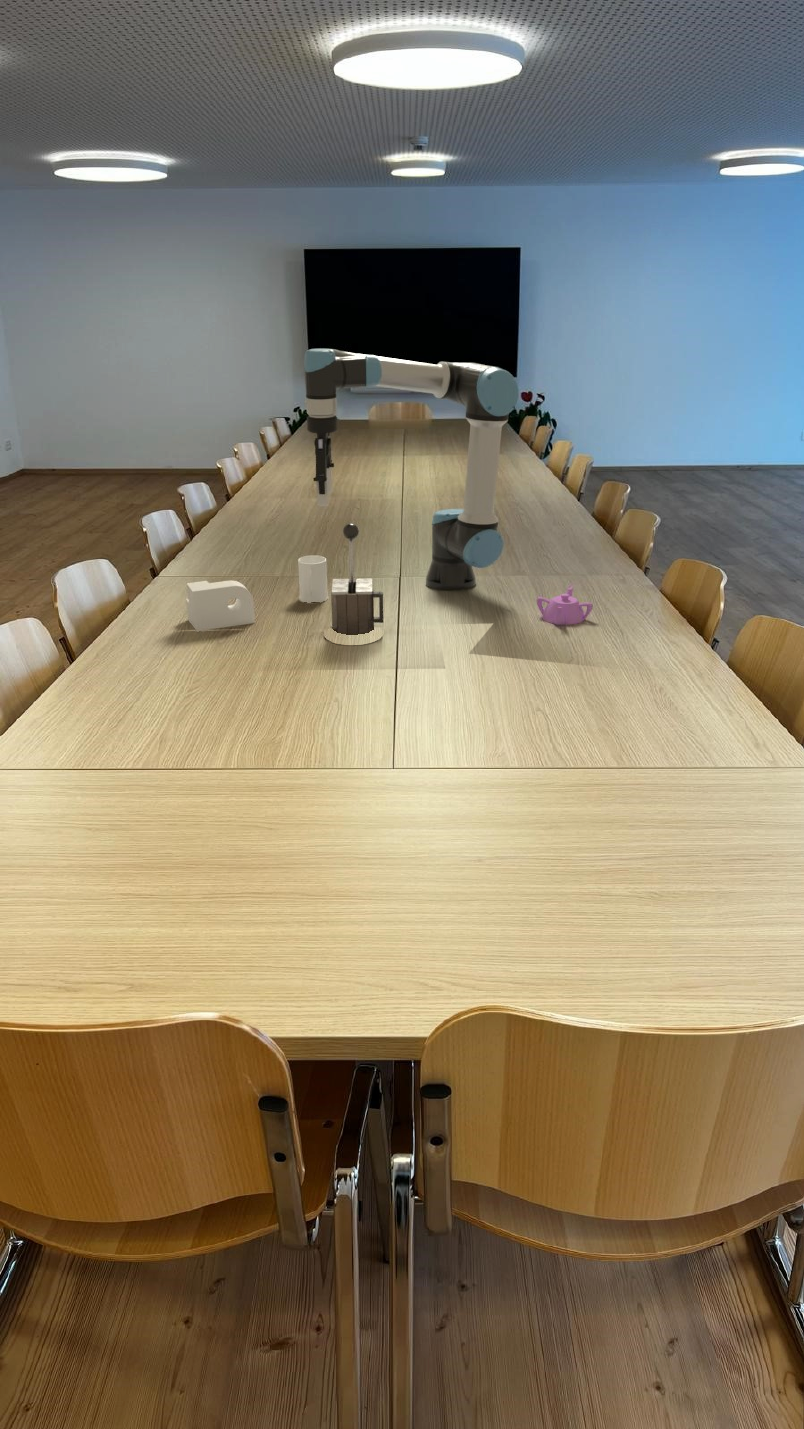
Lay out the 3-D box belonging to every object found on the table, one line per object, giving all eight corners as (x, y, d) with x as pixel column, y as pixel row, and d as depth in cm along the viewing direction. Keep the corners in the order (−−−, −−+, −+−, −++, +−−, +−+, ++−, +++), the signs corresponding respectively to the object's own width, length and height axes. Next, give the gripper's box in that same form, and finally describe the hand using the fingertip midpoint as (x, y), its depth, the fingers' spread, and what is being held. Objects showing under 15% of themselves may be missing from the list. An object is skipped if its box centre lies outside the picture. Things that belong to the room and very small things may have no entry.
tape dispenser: (197, 636, 259) (192, 591, 253) (188, 623, 268) (183, 579, 262) (255, 627, 265) (252, 583, 259) (245, 614, 273) (241, 571, 268)
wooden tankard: (383, 624, 265) (382, 577, 259) (383, 640, 254) (383, 592, 249) (332, 624, 264) (330, 578, 259) (330, 640, 254) (329, 592, 248)
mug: (323, 608, 277) (321, 568, 272) (293, 607, 278) (291, 567, 273) (331, 594, 288) (329, 555, 282) (302, 593, 289) (300, 554, 283)
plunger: (366, 597, 259) (364, 519, 250) (366, 606, 252) (364, 527, 243) (339, 597, 259) (336, 520, 249) (338, 606, 252) (335, 527, 243)
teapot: (569, 614, 273) (571, 584, 269) (595, 631, 262) (598, 600, 258) (531, 619, 269) (533, 589, 265) (556, 637, 258) (559, 606, 254)
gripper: (311, 406, 254) (315, 487, 264) (301, 424, 232) (305, 512, 241) (340, 406, 254) (342, 487, 264) (333, 424, 232) (336, 512, 241)
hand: (325, 499), depth 253 cm, fingers open, 13 cm apart
